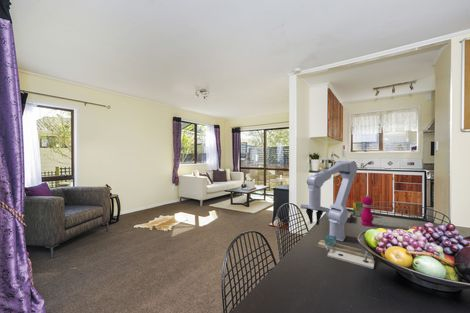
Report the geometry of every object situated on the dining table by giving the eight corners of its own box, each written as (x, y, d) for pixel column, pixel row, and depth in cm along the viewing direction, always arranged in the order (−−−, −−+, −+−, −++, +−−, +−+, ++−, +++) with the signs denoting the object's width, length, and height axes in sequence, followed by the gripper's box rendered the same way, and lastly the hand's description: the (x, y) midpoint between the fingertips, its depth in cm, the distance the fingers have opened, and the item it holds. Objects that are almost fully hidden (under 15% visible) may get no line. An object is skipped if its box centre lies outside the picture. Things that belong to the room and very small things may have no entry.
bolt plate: (330, 250, 105) (330, 249, 105) (374, 262, 95) (374, 260, 95) (327, 256, 100) (327, 254, 100) (373, 269, 89) (373, 267, 89)
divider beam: (320, 242, 115) (320, 233, 115) (374, 255, 101) (374, 244, 100) (314, 250, 106) (314, 240, 106) (372, 265, 92) (372, 254, 92)
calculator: (352, 212, 158) (350, 217, 146) (352, 218, 158) (350, 223, 146) (336, 210, 165) (332, 214, 152) (336, 216, 165) (332, 220, 152)
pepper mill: (358, 223, 144) (358, 194, 144) (365, 222, 147) (365, 193, 147) (368, 227, 138) (369, 196, 137) (375, 225, 141) (376, 195, 140)
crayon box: (361, 214, 165) (361, 199, 164) (364, 215, 162) (364, 200, 162) (352, 215, 164) (353, 200, 163) (355, 216, 161) (355, 201, 160)
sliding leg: (327, 242, 112) (327, 234, 112) (335, 244, 110) (335, 236, 110) (322, 249, 104) (322, 241, 104) (331, 252, 101) (331, 243, 101)
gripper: (298, 197, 114) (298, 223, 115) (327, 201, 106) (327, 229, 106) (303, 195, 120) (302, 219, 120) (330, 199, 111) (330, 225, 112)
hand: (314, 223), depth 114 cm, fingers open, 3 cm apart
